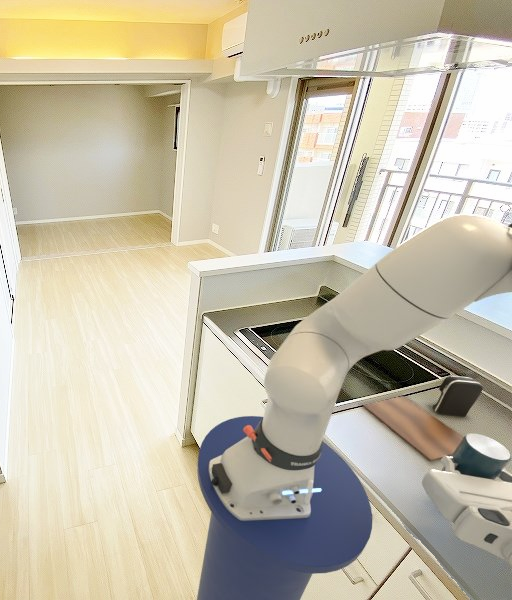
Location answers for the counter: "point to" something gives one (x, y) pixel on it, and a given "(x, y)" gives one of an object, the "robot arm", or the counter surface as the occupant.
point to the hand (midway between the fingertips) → (469, 461)
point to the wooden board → (416, 427)
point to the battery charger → (457, 396)
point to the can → (480, 457)
